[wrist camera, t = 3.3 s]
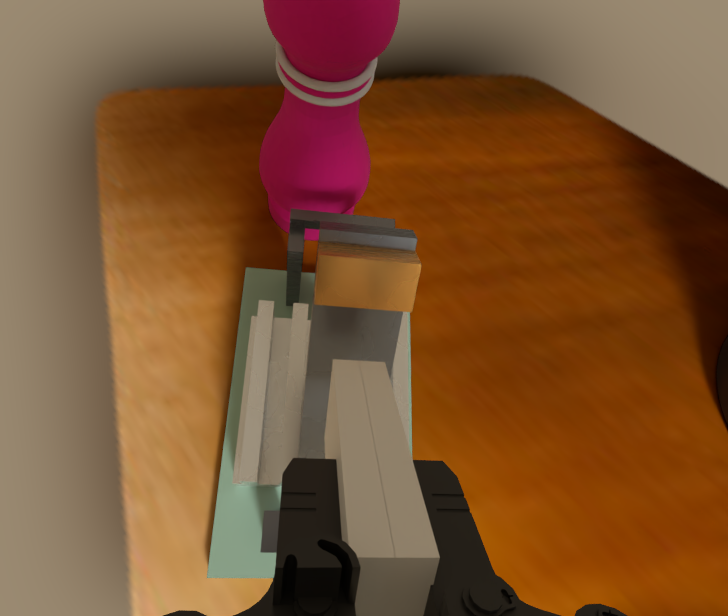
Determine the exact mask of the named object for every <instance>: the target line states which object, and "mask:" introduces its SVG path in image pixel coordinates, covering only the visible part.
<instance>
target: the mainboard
mask: <svg viewBox="0 0 728 616" xmlns="http://www.w3.org/2000/svg"><path fill="white" fill-rule="evenodd" d="M314 280H315V273H306V272H301V283H300V294H299V303H303V304H309V305H308V319H307V320H311V312H312V301H313V291H314ZM286 285H287V271H284V270H272V269H261V268H249V267H246V271H245V279H244V287H243V295H242V303H241V311H240V319H239V327H238V335H237V343H236V351H235V358H234V366H233V374H232V382H231V390H230V398H229V406H228V414H227V422H226V430H225V438H224V446H223V454H222V462H221V470H220V478H219V485H218V493H217V501H216V509H215V517H214V525H213V533H212V541H211V549H210V557H209V565H208V573H207V578H274V574H275V566H276V553H260V551H261V540H262V529H263V518H264V510H280V500H281V487H253V486H236V485H234V484H232V481H233V472H234V464H235V455H236V446H237V438H238V429H239V421H240V412H241V403H242V395H243V386H244V378H245V369H246V360H247V352H248V343H249V334H250V326H251V317H252V316H257V313H258V304H259V300H265V301H274V306H275V317H276V318H289V319H292V314H293V306H286ZM407 315H408V389H409V449H410V453H411V456H412V420H411V356H410V312H407Z"/></svg>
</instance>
